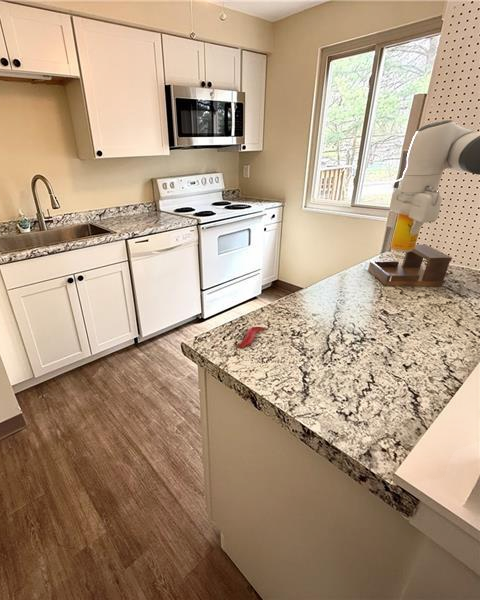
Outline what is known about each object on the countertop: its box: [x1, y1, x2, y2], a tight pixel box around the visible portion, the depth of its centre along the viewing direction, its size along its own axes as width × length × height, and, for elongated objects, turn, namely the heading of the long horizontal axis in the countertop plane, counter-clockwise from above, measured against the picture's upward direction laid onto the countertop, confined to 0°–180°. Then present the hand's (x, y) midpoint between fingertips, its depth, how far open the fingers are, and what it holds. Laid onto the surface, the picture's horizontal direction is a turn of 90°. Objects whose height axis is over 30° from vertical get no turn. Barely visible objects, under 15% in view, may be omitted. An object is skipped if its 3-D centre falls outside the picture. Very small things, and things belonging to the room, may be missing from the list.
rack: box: [367, 244, 453, 287], centre depth 101 cm, size 15×14×9 cm
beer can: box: [390, 201, 421, 253], centre depth 97 cm, size 6×6×15 cm
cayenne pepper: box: [236, 326, 266, 348], centre depth 79 cm, size 12×5×2 cm, turn 122°
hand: (406, 231), depth 97 cm, fingers closed on beer can, 6 cm apart
